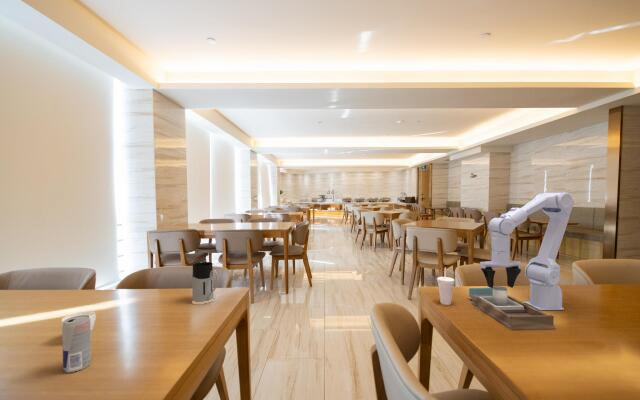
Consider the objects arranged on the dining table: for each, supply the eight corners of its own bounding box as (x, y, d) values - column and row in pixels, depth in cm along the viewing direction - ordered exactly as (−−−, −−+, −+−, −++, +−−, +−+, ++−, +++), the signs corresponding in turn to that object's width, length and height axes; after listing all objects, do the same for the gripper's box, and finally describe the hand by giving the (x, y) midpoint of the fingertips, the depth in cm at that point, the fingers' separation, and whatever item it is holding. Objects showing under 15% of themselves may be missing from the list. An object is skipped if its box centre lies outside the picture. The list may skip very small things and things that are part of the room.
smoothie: (451, 300, 116) (451, 266, 116) (457, 306, 110) (457, 270, 110) (434, 300, 117) (434, 265, 117) (439, 306, 111) (439, 269, 110)
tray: (468, 296, 118) (468, 287, 118) (494, 295, 118) (494, 287, 118) (495, 312, 101) (495, 303, 101) (525, 312, 101) (525, 302, 101)
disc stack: (502, 301, 109) (502, 285, 109) (510, 306, 105) (510, 289, 104) (489, 301, 109) (490, 285, 109) (497, 306, 105) (497, 289, 104)
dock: (471, 303, 113) (471, 293, 113) (507, 303, 113) (507, 292, 113) (510, 329, 91) (510, 317, 91) (554, 328, 91) (555, 316, 91)
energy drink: (74, 361, 74) (73, 315, 74) (96, 360, 75) (95, 314, 74) (56, 374, 69) (56, 324, 69) (80, 372, 69) (80, 323, 69)
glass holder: (206, 295, 123) (206, 260, 123) (227, 302, 115) (226, 265, 115) (186, 301, 116) (186, 264, 116) (207, 309, 108) (206, 269, 107)
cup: (54, 345, 82) (53, 321, 82) (82, 329, 92) (82, 308, 92) (81, 345, 82) (81, 321, 82) (107, 328, 92) (106, 308, 92)
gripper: (511, 248, 111) (511, 283, 111) (475, 248, 110) (475, 284, 110) (525, 251, 104) (525, 289, 104) (486, 252, 103) (486, 290, 103)
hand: (500, 286), depth 107 cm, fingers open, 7 cm apart
